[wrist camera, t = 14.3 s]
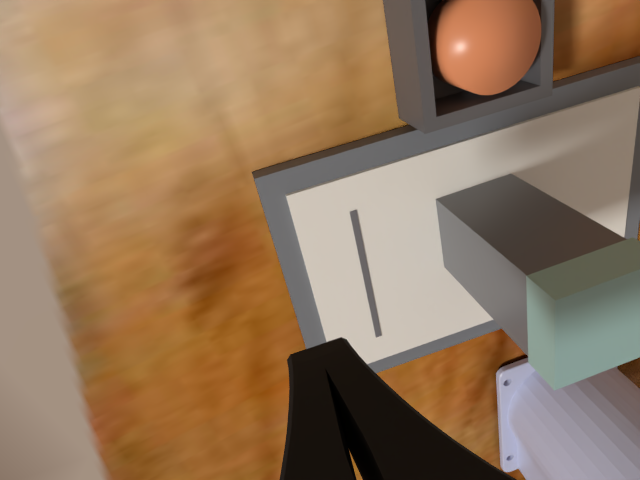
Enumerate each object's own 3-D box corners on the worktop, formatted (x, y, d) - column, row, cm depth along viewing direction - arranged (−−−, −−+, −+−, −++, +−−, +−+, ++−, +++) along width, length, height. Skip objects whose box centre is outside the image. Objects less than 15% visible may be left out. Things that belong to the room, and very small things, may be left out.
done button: (508, 72, 19) (541, 80, 17) (428, 95, 19) (453, 106, 17) (506, -25, 18) (541, -26, 16) (418, -1, 17) (444, 0, 15)
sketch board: (620, 274, 28) (635, 284, 27) (316, 382, 26) (321, 396, 25) (645, 54, 22) (665, 57, 21) (251, 172, 20) (255, 181, 19)
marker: (515, 243, 23) (656, 350, 16) (442, 269, 23) (554, 390, 16) (513, 170, 21) (670, 258, 15) (433, 197, 21) (555, 300, 14)
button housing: (513, 84, 21) (552, 95, 19) (399, 118, 20) (425, 134, 18) (511, -57, 18) (555, -63, 16) (380, -23, 18) (407, -24, 15)
